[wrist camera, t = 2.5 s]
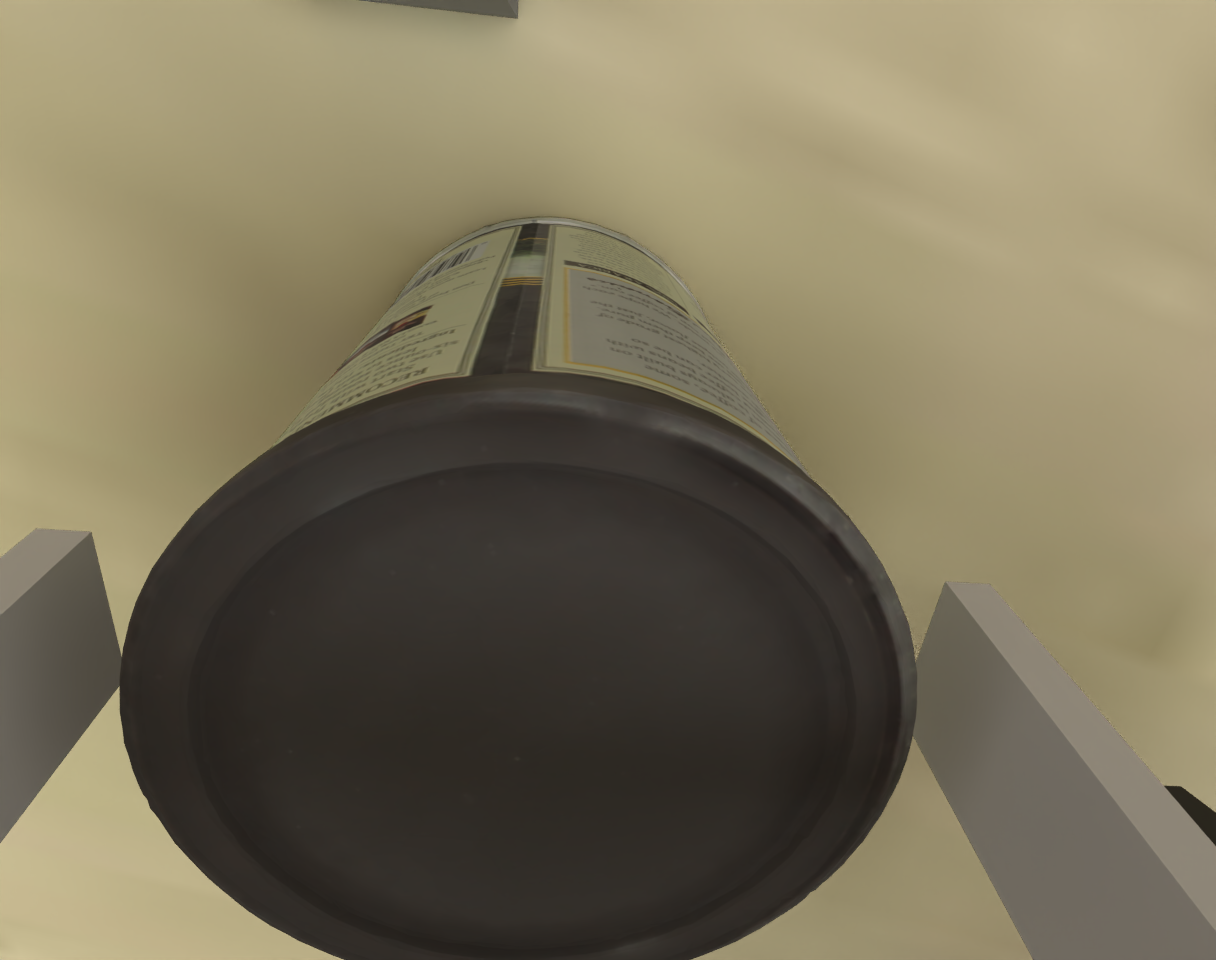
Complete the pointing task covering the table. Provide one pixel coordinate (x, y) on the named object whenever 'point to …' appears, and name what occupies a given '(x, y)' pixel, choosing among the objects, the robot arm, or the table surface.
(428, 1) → the blue-gray block
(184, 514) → the table surface
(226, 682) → the coffee can
